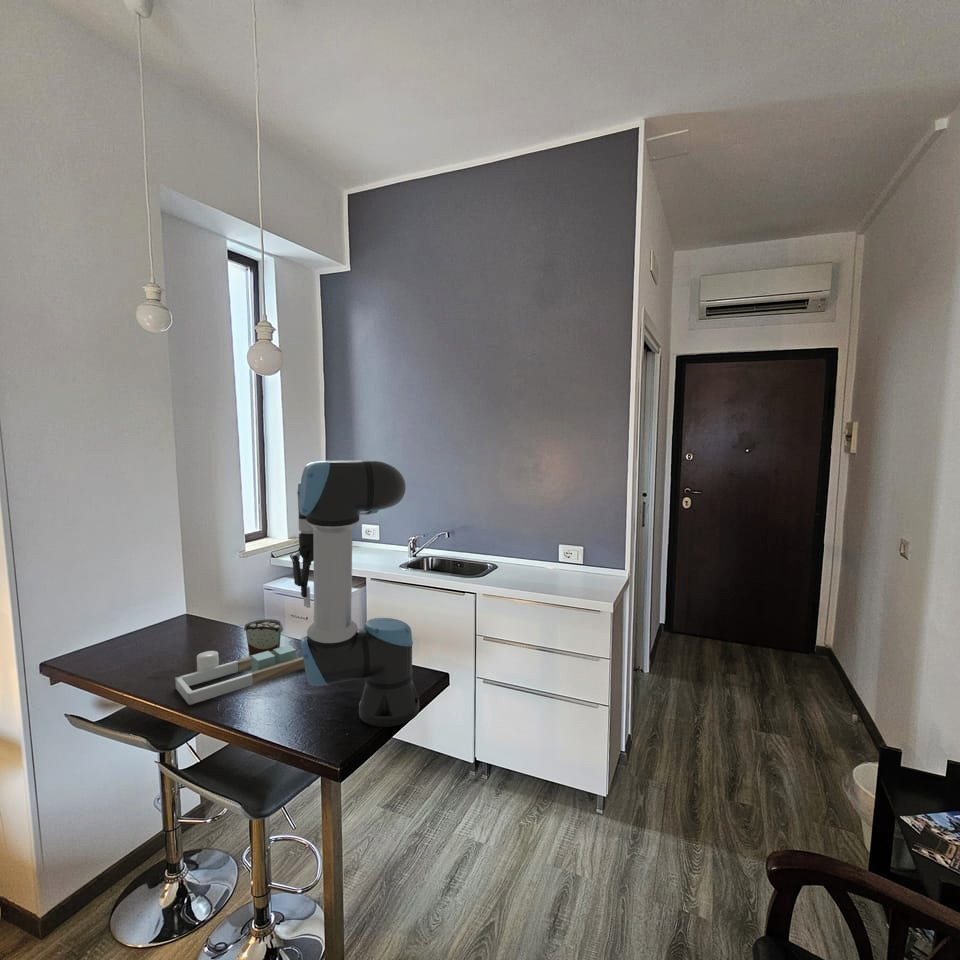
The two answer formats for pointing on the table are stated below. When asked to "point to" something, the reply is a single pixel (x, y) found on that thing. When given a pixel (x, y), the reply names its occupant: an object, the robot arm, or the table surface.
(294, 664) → the guide channel
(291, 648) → the pale teal block
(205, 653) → the white rounded capsule
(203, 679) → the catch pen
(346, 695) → the table surface
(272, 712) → the table surface
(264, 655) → the pale teal cube
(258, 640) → the food container
